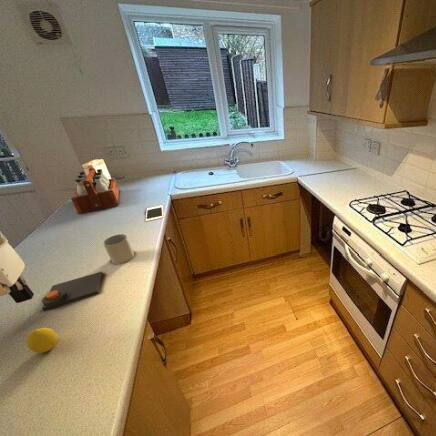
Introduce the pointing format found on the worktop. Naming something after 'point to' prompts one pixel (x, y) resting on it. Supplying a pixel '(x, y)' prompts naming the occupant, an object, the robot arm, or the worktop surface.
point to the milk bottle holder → (95, 191)
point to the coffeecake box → (96, 167)
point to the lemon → (42, 340)
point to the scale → (74, 290)
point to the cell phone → (154, 213)
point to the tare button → (52, 295)
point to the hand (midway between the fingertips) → (25, 298)
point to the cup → (118, 248)
